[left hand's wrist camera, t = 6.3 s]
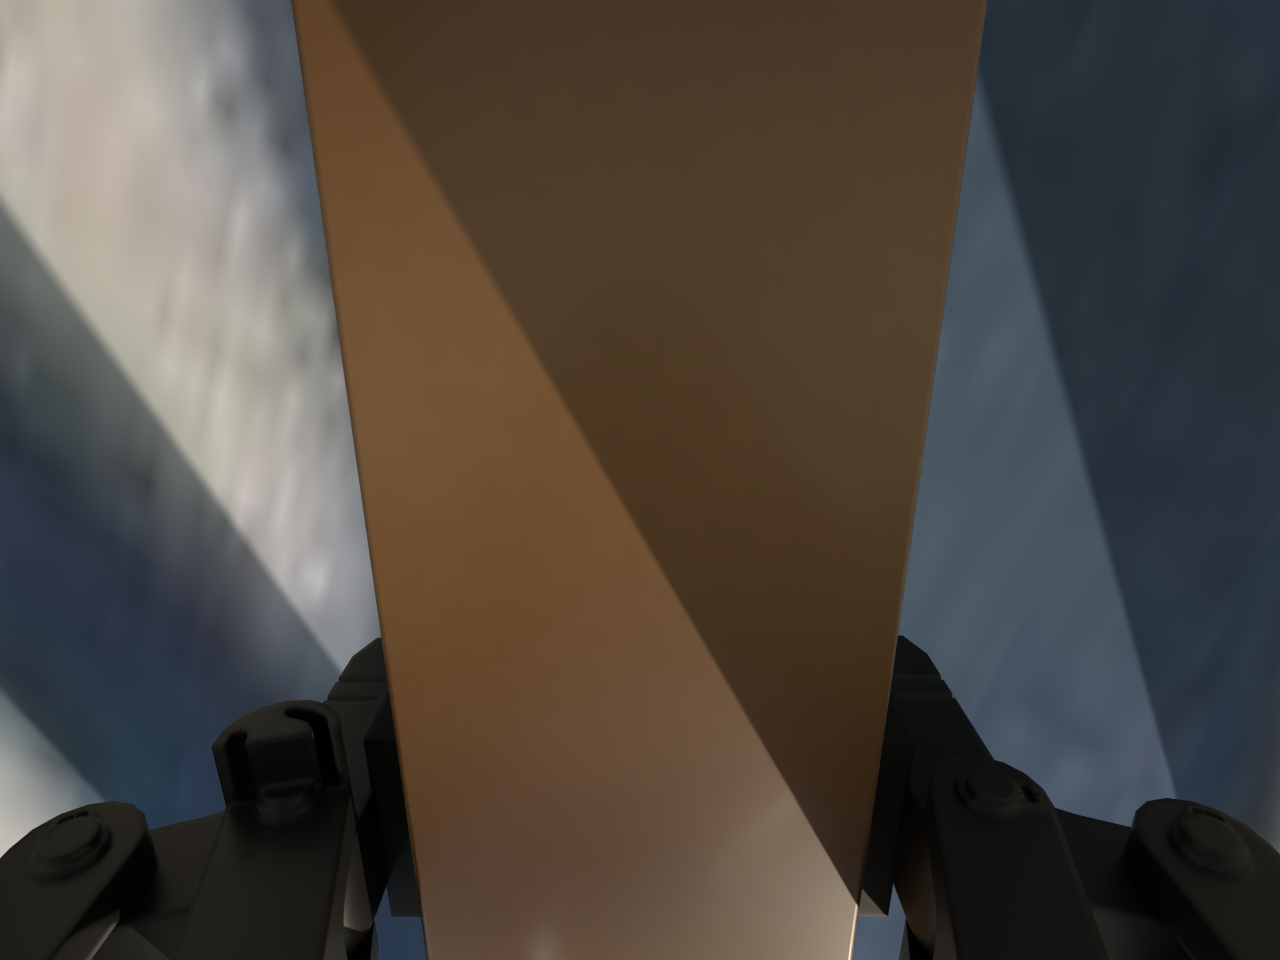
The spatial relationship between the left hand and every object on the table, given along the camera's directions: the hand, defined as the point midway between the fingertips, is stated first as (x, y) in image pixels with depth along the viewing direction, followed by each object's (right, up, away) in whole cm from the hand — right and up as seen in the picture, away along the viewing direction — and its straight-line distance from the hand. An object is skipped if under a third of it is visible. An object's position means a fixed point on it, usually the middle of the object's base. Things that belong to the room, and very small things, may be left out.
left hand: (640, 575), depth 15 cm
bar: (0, +10, -3) cm, 10 cm away
